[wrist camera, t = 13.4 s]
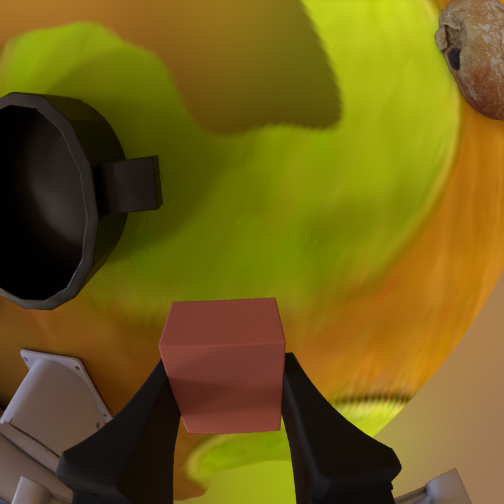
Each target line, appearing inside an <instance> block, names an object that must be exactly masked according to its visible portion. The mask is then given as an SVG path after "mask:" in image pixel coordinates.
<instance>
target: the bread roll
mask: <svg viewBox="0 0 504 504" xmlns="http://www.w3.org/2000/svg"><path fill="white" fill-rule="evenodd" d="M439 29H440V30H438V31H437V32H436V33H435V38H436V43H437V45H438V47H439V49H440V52H442V53H443V55H444V57H445V59H446V62H447V64H448V67H449V69H450V71H451V73H452V75H453V76H454V78H455V80H456V82H457V84H458V86H459V89H460V92H461V93H462V95H463V96H464V98H465V99H466V100H467V102H468V103H469V104H470V105H471V106H472V107H473V108H474V109H476V110H477V111H478V112H480V113H481V114H483V115H485V116H487V117H489V118H492V119H496V120H502V121H504V5H503V4H501V3H500V2H499V1H497V0H453V1H451V2H450V4H448V6H447V7H446V8H445V9H443V10H442V12H441V13H440V15H439Z"/></svg>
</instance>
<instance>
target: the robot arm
mask: <svg viewBox="0 0 504 504" xmlns="http://www.w3.org/2000/svg"><path fill="white" fill-rule="evenodd" d="M20 354H21V356H22V358H23V359H24V361H25V363H26V365H27V366H28V368H29V370H30V371H29V372H28V374H27V375H26V377H25V378H24V380H23V382H22V383H21V385H20V386H19V388H18V390H17V391H16V393H15V395H14V396H13V398H12V400H11V402H10V403H9V405H8V407H7V409H6V410H5V412H4V414H3V416H2V418H1V420H0V504H173V464H174V450H175V443H176V438H177V432H178V427H179V422H180V417H181V413H180V411H179V408H178V405H177V402H176V400H175V397H174V394H173V391H172V388H171V385H170V382H169V379H168V376H167V373H166V370H165V367H164V363H163V360H162V358H161V359H160V361H159V362H158V364H157V365H156V367H155V368H154V370H153V371H152V373H151V374H150V376H149V377H148V378H147V380H146V381H145V382H144V384H143V385H142V386H141V388H140V389H139V390H138V392H137V393H136V394H135V395H134V396H133V398H132V399H131V400H130V401H129V402H128V403H127V405H126V406H125V407H124V408H123V409H122V410H121V411H120V412H119V413H118V414H117V415H116V416H115V417H114V418H113V417H112V416H111V414H110V413H109V411H108V409H107V408H106V406H105V404H104V403H103V401H102V399H101V398H100V396H99V394H98V392H97V391H96V389H95V387H94V385H93V383H92V381H91V380H90V378H89V376H88V374H87V372H86V370H85V368H84V366H83V364H82V362H81V361H80V360H79V359H78V358H74V357H67V356H60V355H53V354H47V353H41V352H35V351H29V350H24V349H22V350H21V352H20ZM281 413H282V417H283V421H284V425H285V429H286V433H287V437H288V441H289V446H290V451H291V459H292V467H293V474H294V484H295V493H296V504H472V502H471V500H470V498H469V496H468V493H467V491H466V489H465V486H464V484H463V482H462V480H461V478H460V476H459V473H458V471H457V469H456V468H453V469H451V470H450V471H448V472H446V473H443V474H441V475H440V476H437V477H436V478H434V479H432V480H430V481H429V482H428V483H427V484H426V485H425V486H424V487H421V488H419V489H417V490H414V491H412V492H409V493H407V494H405V495H402V496H399V497H396V498H393V495H392V492H391V490H393V486H392V483H391V481H392V480H393V479H394V478H395V477H396V476H397V475H398V474H399V472H400V471H401V469H402V467H401V464H400V461H399V459H398V457H397V456H396V454H395V452H394V451H393V449H392V448H390V447H388V446H386V445H384V444H382V443H380V442H378V441H377V440H375V439H373V438H372V437H370V436H369V435H367V434H365V433H364V432H362V431H361V430H360V429H358V428H357V427H356V426H354V425H353V424H352V423H350V422H349V421H348V420H347V419H345V418H344V417H343V416H342V415H341V414H340V413H339V412H338V411H337V410H336V409H335V408H333V407H332V406H331V404H330V403H329V402H328V401H327V400H326V399H325V398H324V397H323V396H322V395H321V393H320V392H319V391H318V390H317V389H316V387H315V386H314V385H313V383H312V382H311V381H310V379H309V378H308V377H307V375H306V374H305V372H304V371H303V369H302V368H301V366H300V364H299V363H298V361H297V359H296V357H295V355H294V354H293V353H292V352H291V353H285V365H284V380H283V396H282V411H281ZM105 422H108V423H107V424H106V425H105Z"/></svg>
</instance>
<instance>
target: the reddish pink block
mask: <svg viewBox="0 0 504 504" xmlns="http://www.w3.org/2000/svg"><path fill="white" fill-rule="evenodd" d="M285 345H286V341H285V337H284V332H283V328H282V324H281V319H280V315H279V311H278V306H277V302H276V299H275V298H258V299H240V300H218V301H190V302H172V305H171V308H170V311H169V314H168V317H167V320H166V323H165V326H164V329H163V333H162V336H161V339H160V342H159V345H158V347H159V350H160V354H161V357H162V360H163V363H164V367H165V370H166V373H167V376H168V379H169V382H170V385H171V388H172V391H173V394H174V397H175V400H176V402H177V405H178V408H179V411H180V413H181V416H182V419H183V421H184V424H185V427H186V429H187V432H188V433H205V434H224V433H252V432H267V431H279V430H280V426H281V411H282V396H283V380H284V365H285Z"/></svg>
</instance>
